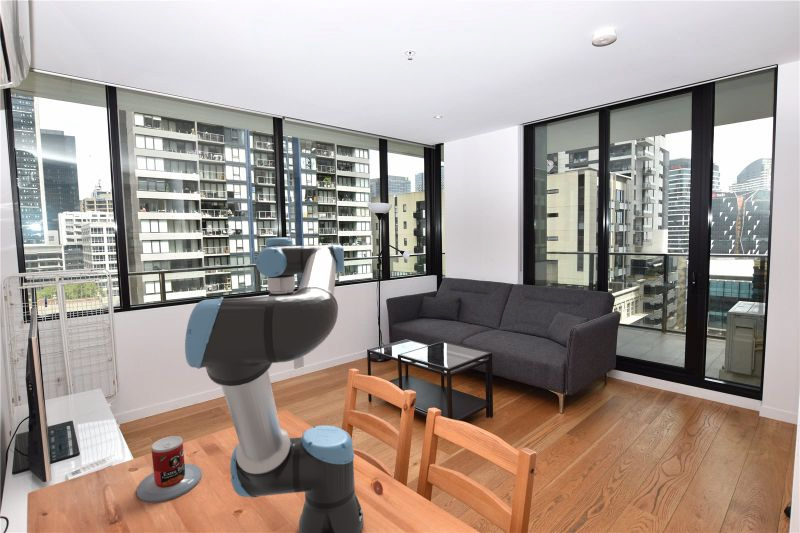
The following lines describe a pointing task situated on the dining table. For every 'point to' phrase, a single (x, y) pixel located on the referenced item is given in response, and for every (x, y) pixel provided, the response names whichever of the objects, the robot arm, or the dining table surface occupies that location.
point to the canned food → (168, 461)
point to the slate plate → (153, 493)
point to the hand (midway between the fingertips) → (286, 362)
